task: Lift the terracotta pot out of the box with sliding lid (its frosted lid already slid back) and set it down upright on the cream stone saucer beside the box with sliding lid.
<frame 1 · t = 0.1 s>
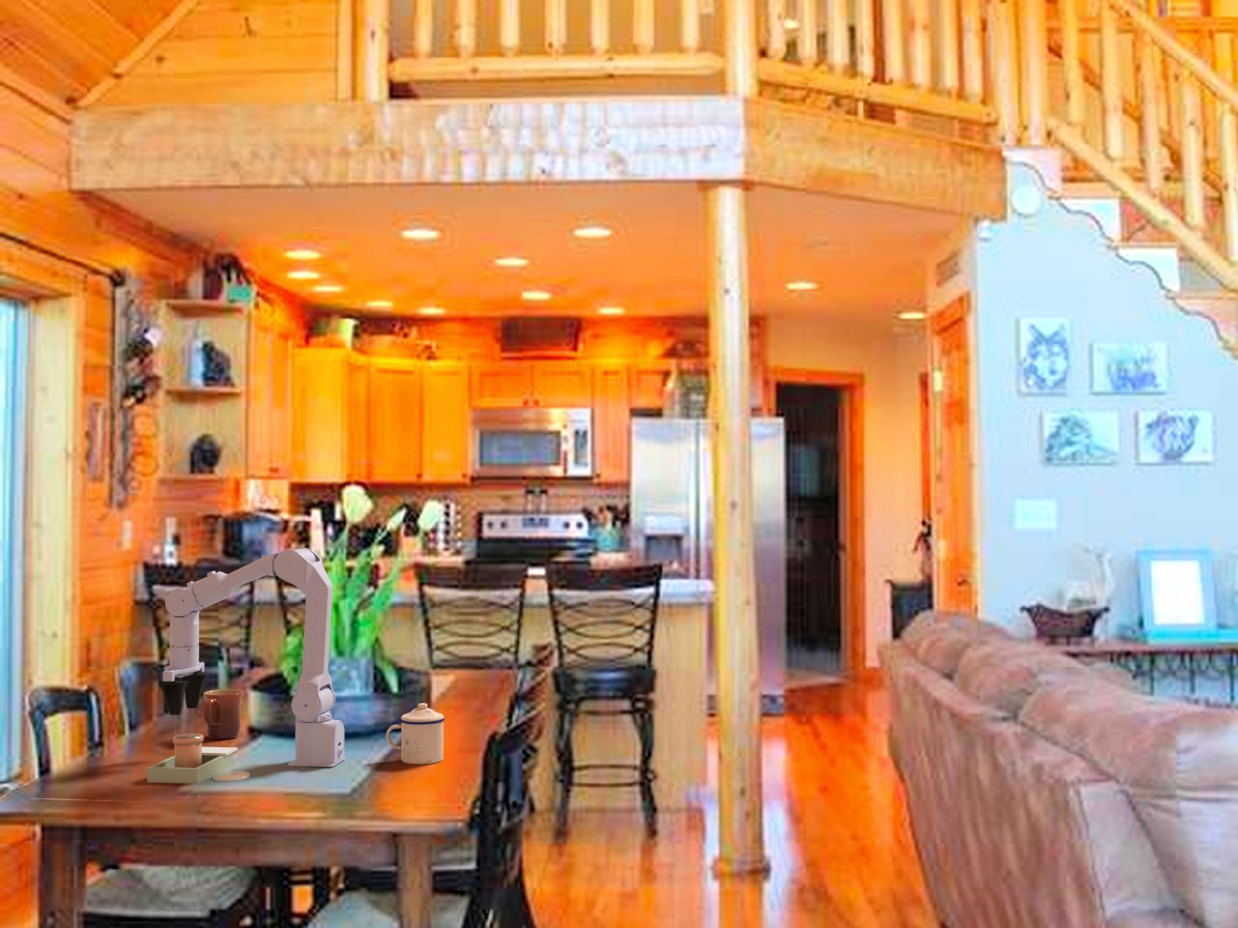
hand: (183, 711, 256), 10 cm above the table, fingers open, 7 cm apart
mug: (219, 739, 278), on the table
saucer: (231, 778, 240), on the table
box with sliding lid: (191, 774, 243), on the table
pot: (187, 775, 241), resting on box with sliding lid
teacup with lid: (415, 761, 256), on the table
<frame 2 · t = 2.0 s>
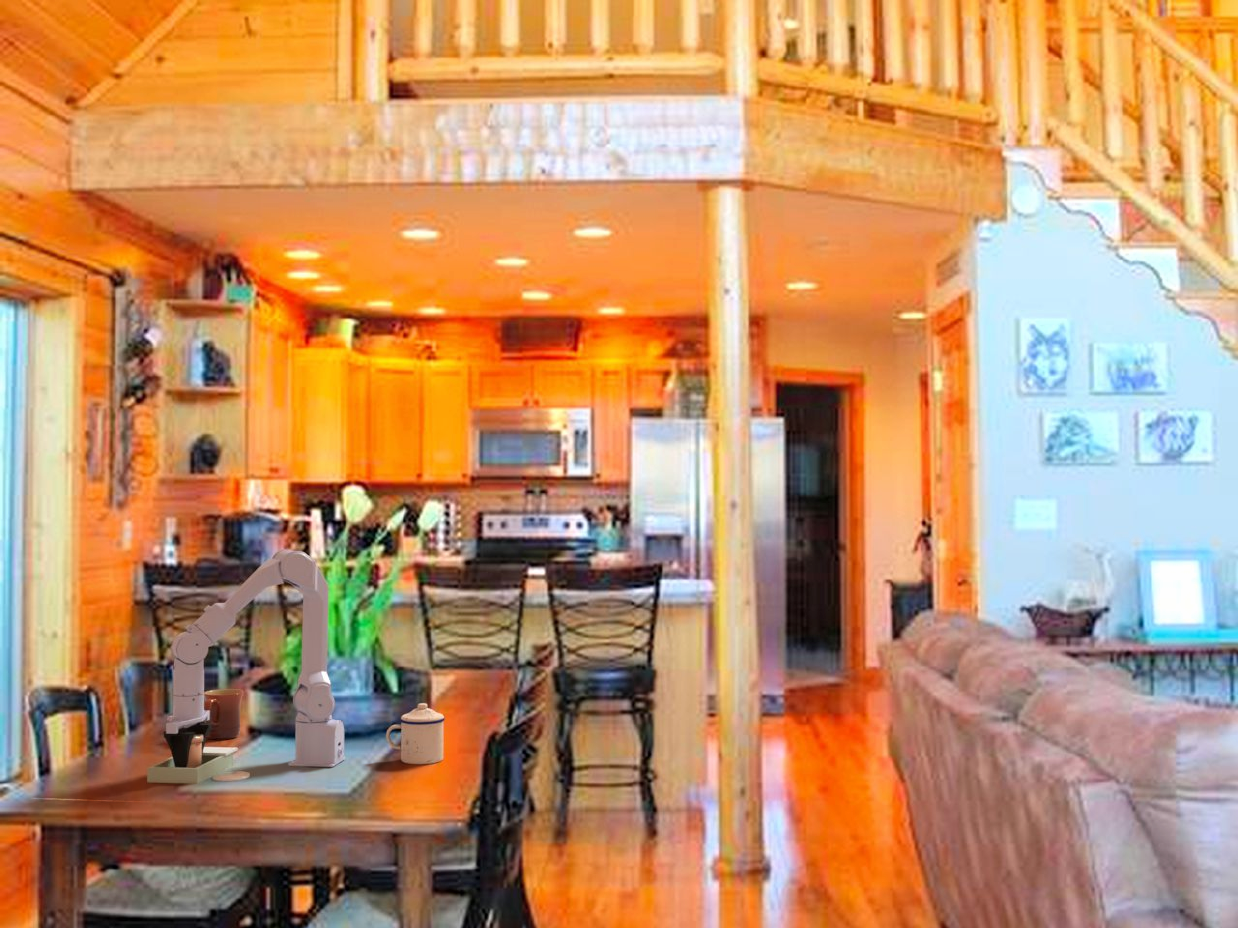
hand: (188, 764, 241), 2 cm above the table, fingers closed on pot, 5 cm apart
pot: (187, 775, 241), resting on box with sliding lid, touching gripper
everything else where it was.
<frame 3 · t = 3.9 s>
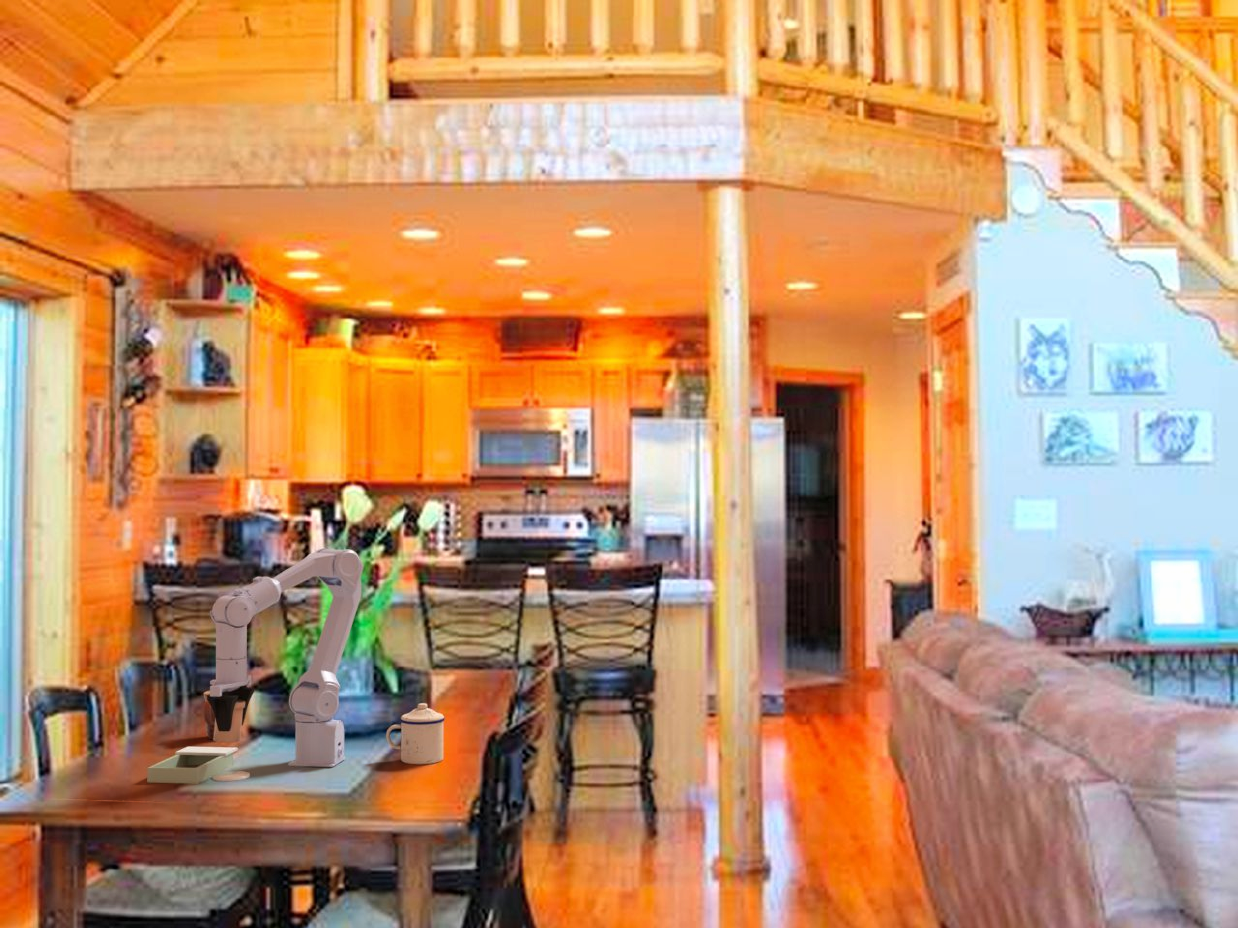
hand: (230, 728, 240), 10 cm above the table, fingers closed on pot, 5 cm apart
pot: (226, 740, 240), point 7 cm above the table, touching gripper
everything else where it was.
when the fingers open (4 cm above the table, at t = 5.6 s): pot stays where it is, resting on saucer.
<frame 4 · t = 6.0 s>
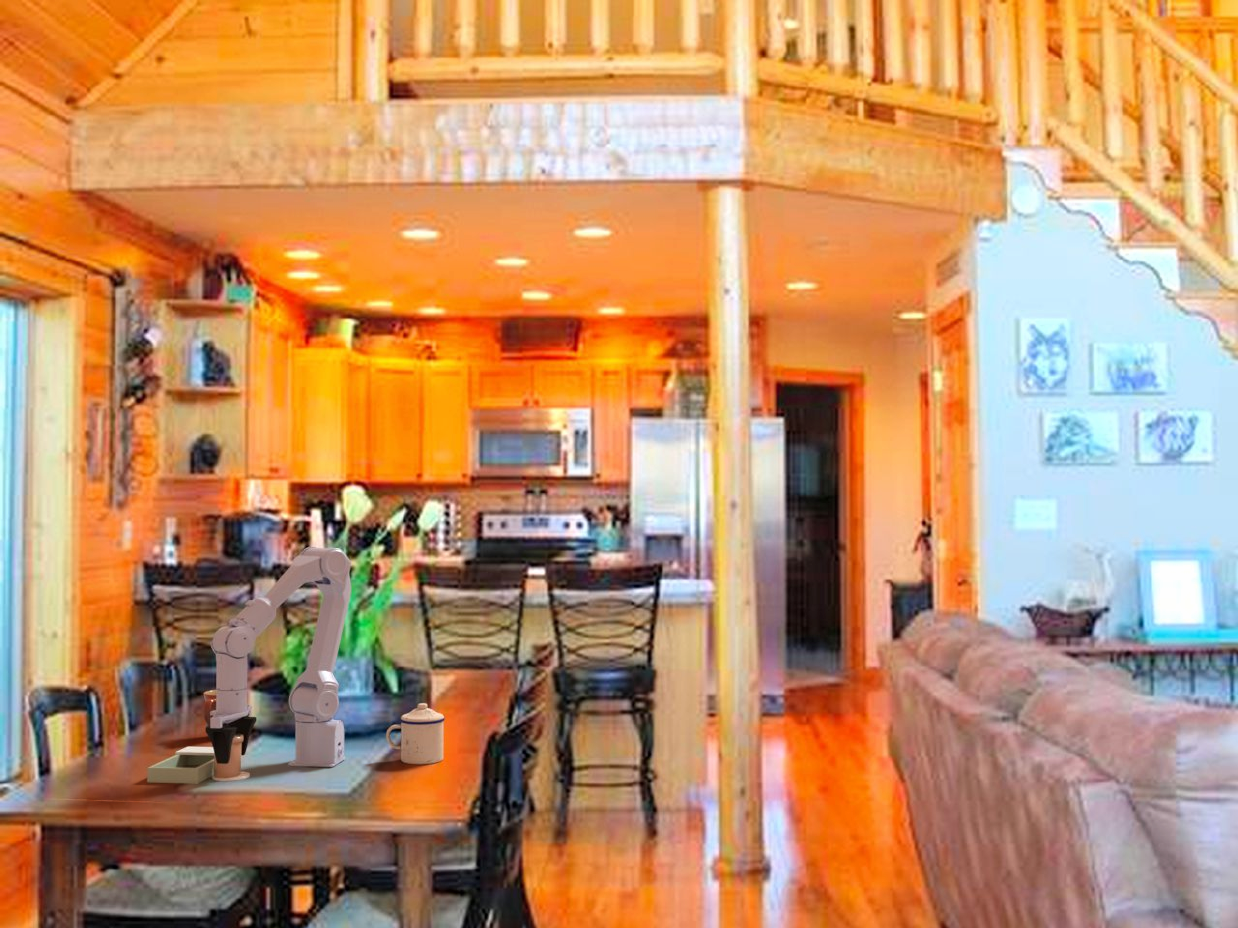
hand: (231, 759, 240), 4 cm above the table, fingers open, 7 cm apart
pot: (227, 775, 240), point 1 cm above the table, touching saucer
everything else where it was.
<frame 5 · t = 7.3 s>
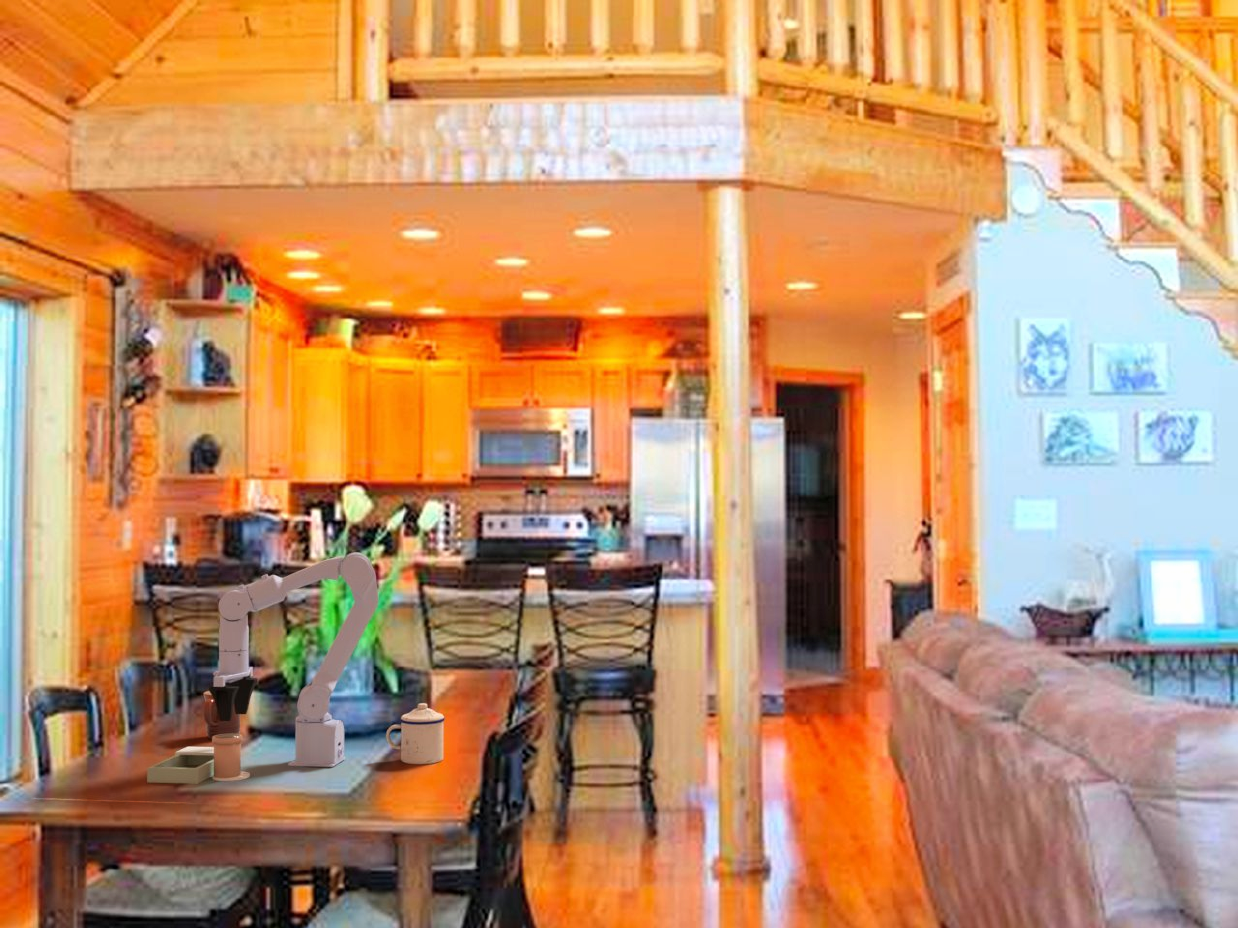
hand: (233, 717, 250), 10 cm above the table, fingers open, 7 cm apart
nothing on the table moved.
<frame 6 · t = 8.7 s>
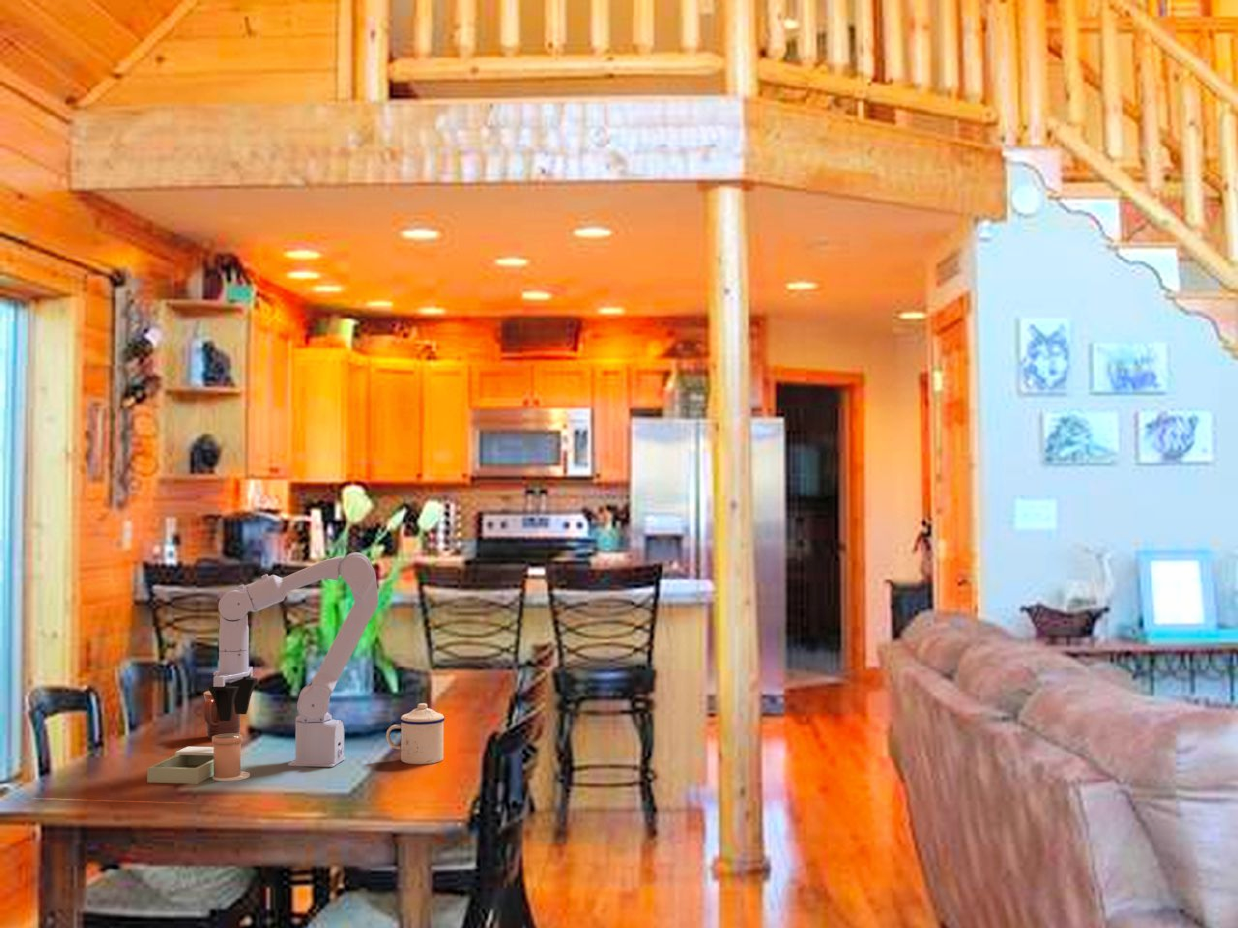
hand: (233, 717, 250), 10 cm above the table, fingers open, 7 cm apart
nothing on the table moved.
at the end: pot 0.7 cm off-centre on the saucer, point 0.6 cm above the saucer's base; pot tilted 1°; the gripper is holding nothing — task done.
